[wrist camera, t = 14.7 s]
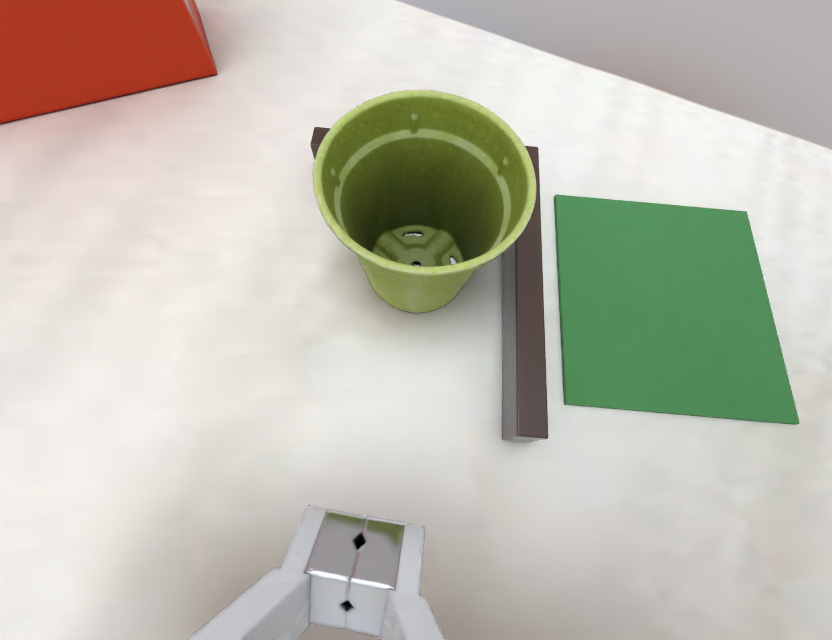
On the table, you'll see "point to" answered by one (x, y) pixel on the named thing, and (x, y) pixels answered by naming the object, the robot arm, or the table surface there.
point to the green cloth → (666, 312)
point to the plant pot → (423, 192)
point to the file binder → (95, 51)
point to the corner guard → (518, 326)
